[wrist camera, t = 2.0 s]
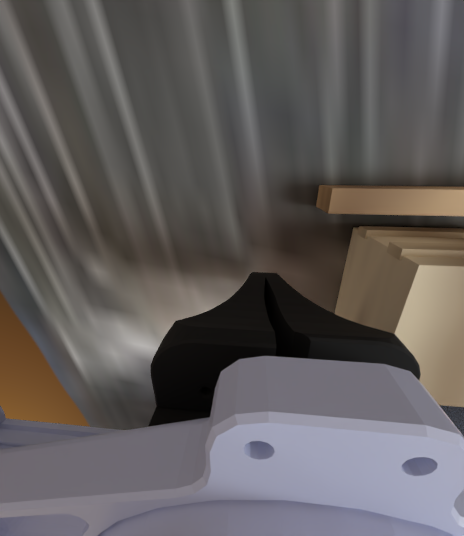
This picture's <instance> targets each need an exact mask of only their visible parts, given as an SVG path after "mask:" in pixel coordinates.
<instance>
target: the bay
mask: <svg viewBox="0 0 464 536" xmlns="http://www.w3.org/2000/svg"><path fill="white" fill-rule="evenodd" d="M316 207H318V208H320V209H321V210H323V211H325V212H326V213H328V214H376V215H425V216H464V187H441V186H349V185H319V191H318V197H317V204H316Z"/></svg>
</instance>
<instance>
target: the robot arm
mask: <svg viewBox="0 0 464 536" xmlns="http://www.w3.org/2000/svg"><path fill="white" fill-rule="evenodd" d="M420 376H421V373H420V366H419V364H418V362H417V360H416V359H415V357H414V356H413V354H412V353H411V352H410V351H409V350H408V349H407V348H406V346H405V345H404V344H403V343H402V342H401V341H400V339H399V338H398V337H397V336H396V335H395V334H394V333H390V332H386V331H383V330H379V329H376V328H372V327H368V326H365V325H362V324H359V323H356V322H353V321H351V320H348V319H345V318H343V317H340V316H338V315H336V314H334V313H331V312H329V311H327V310H325V309H323V308H321V307H319V306H318V305H316V304H314V303H313V302H311V301H309V300H308V299H306V298H305V297H304V296H302V295H301V294H299V293H298V292H297V291H296V290H294V289H293V288H292V287H291V286H290V285H289V284H287V283H286V282H285V281H284V280H283V279H282V278H281V277H280V276H279V275H278V274H277V273H258V272H252V273H251V274H250V276H249V277H248V279H247V280H246V282H245V283H244V284H243V286H242V287H241V288H240V289H239V290H238V291H237V292H236V293H235V294H234V295H233V296H232V297H231V298H230V299H228V300H227V301H226V302H224V303H222V304H220V305H219V306H217V307H215V308H213V309H211V310H209V311H207V312H204V313H202V314H199V315H196V316H193V317H189V318H186V319H182V320H178V321H176V322H175V323H174V324H173V326H172V327H171V329H170V330H169V331H168V333H167V334H166V336H165V337H164V339H163V341H162V343H161V344H160V346H159V348H158V350H157V352H156V354H155V356H154V358H153V361H152V363H151V378H152V384H153V389H154V394H155V400H156V405H157V407H156V409H155V412H154V414H153V417H152V419H151V422H150V424H149V426H148V427H143V428H136V429H130V430H118V429H107V428H97V427H87V426H76V425H67V424H57V423H47V422H37V421H26V420H16V419H6V418H5V414H4V411H3V409H2V408H1V406H0V536H464V436H463V435H462V434H461V432H460V431H459V430H458V429H457V427H456V426H455V425H454V423H453V422H452V421H451V420H450V418H449V417H448V416H447V415H446V413H445V412H444V411H443V410H442V408H441V407H440V406H439V404H438V403H437V402H436V401H435V399H434V398H433V397H432V396H431V394H430V393H429V392H428V391H427V389H426V388H425V387H424V386H423V385H422V383H421V382H420V381H419V380H420Z"/></svg>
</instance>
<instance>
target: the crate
mask: <svg viewBox="0 0 464 536" xmlns="http://www.w3.org/2000/svg"><path fill="white" fill-rule="evenodd" d="M334 314H336V315H338V316H340V317H343V318H345V319H348V320H351V321H353V322H356V323H359V324H362V325H365V326H368V327H372V328H376V329H379V330H383V331H386V332H390V333H394V334H395V335H396V336H397V337H398V338H399V339H400V341H401V342H402V343H403V344H404V345H405V346H406V348H407V349H408V350H409V351H410V352H411V353H412V354H413V356H414V357H415V359H416V360H417V362H418V364H419V366H420V373H421V376H420V380H419V381H420V382H421V383H422V385H423V386H424V387H425V388H426V389H427V391H428V392H429V393H430V394H431V396H432V397H433V398H434V399H435V401H436V402H437V403H438V404H439V405H445V406H457V407H464V229H462V228H420V227H379V226H359V228H357V227H353V232H352V236H351V241H350V245H349V250H348V254H347V259H346V263H345V268H344V272H343V277H342V281H341V286H340V291H339V295H338V300H337V304H336V309H335V313H334Z"/></svg>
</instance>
